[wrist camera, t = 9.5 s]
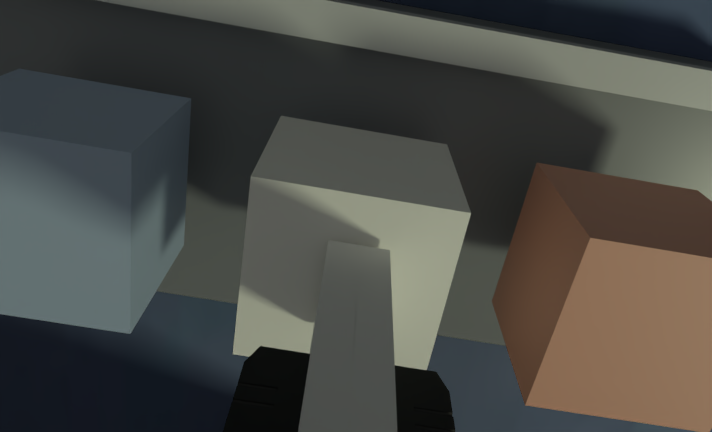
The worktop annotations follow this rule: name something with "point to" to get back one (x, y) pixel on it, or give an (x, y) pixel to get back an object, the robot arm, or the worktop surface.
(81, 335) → the worktop surface
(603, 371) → the orange-brown cube
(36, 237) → the blue-grey cube
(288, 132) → the cream cube
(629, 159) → the grey open tray
